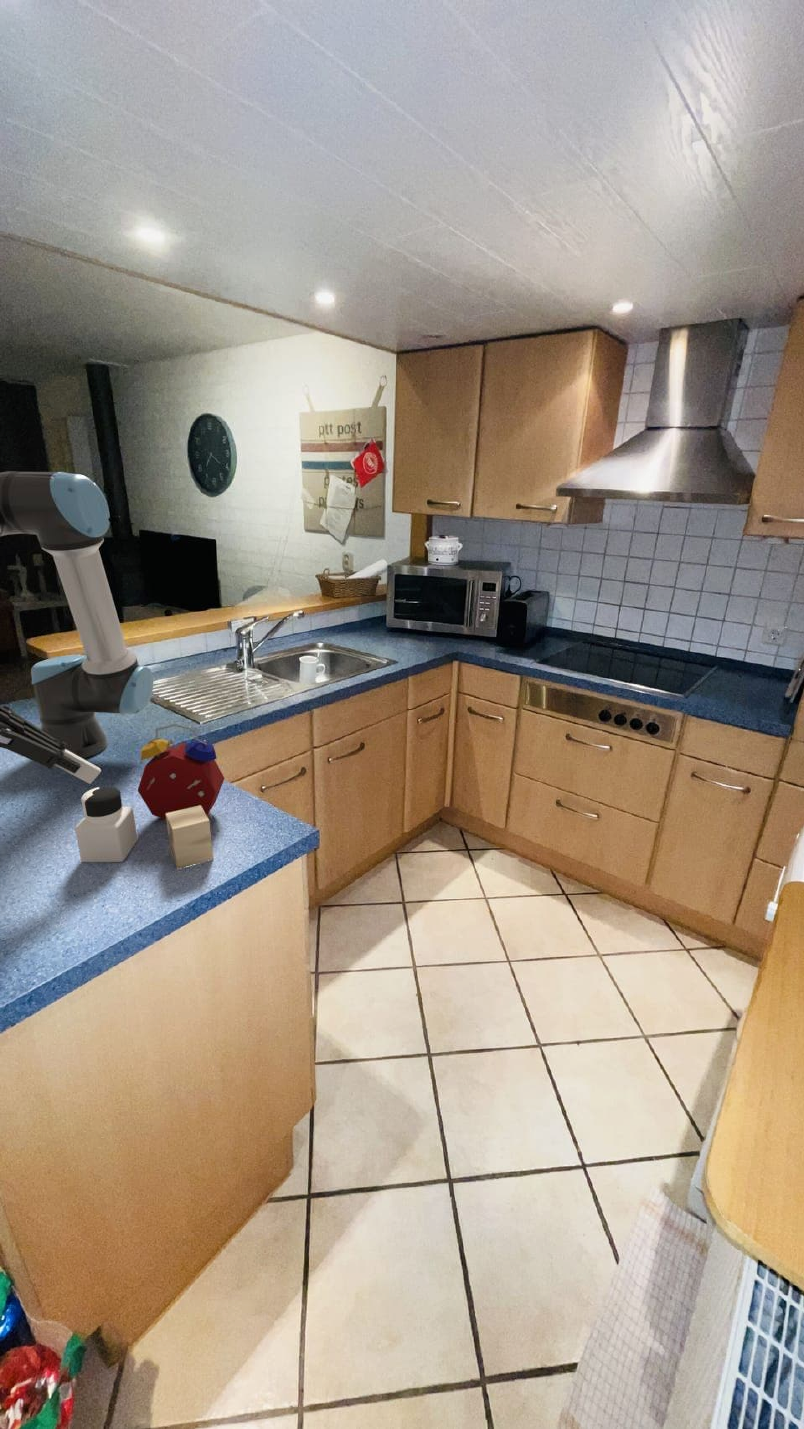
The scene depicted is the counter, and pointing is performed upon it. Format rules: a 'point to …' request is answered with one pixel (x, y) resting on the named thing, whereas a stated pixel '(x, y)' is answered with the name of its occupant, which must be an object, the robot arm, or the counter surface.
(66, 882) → the counter surface
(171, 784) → the alarm clock
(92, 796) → the medicine bottle
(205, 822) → the beech block
